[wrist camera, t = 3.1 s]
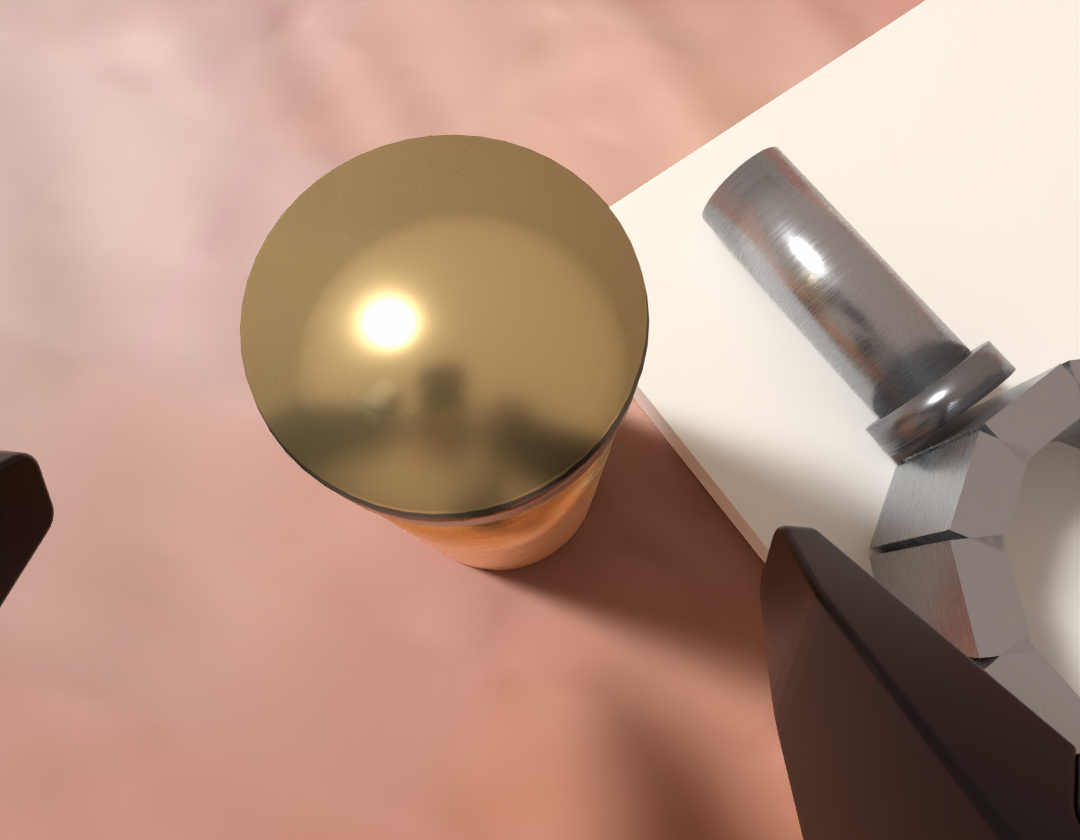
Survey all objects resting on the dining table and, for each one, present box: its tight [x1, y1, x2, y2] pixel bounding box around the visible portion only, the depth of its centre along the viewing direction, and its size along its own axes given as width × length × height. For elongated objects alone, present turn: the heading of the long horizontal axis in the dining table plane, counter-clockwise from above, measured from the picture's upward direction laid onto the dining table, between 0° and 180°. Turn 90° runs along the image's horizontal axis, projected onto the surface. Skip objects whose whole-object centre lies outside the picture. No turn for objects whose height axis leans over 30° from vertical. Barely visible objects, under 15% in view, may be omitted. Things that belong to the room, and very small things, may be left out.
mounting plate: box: [609, 0, 1080, 697], centre depth 18 cm, size 20×18×1 cm
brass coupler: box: [240, 135, 649, 570], centre depth 14 cm, size 5×5×10 cm
